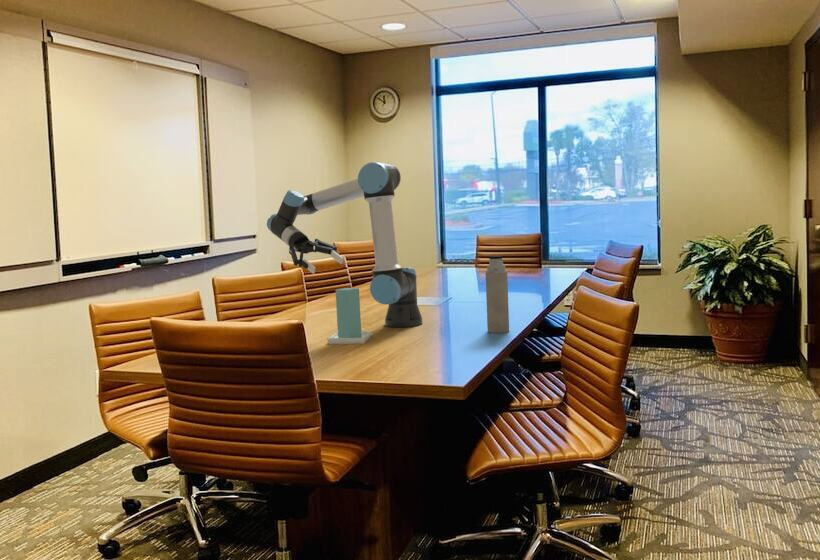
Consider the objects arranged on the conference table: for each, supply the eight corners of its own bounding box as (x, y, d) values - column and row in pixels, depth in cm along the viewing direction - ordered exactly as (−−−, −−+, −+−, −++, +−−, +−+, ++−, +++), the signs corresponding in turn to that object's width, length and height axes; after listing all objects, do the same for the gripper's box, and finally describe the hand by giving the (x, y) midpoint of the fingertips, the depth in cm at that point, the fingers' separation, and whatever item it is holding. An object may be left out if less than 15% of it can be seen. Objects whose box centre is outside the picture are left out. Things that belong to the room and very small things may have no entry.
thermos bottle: (491, 328, 281) (489, 255, 278) (512, 329, 277) (509, 254, 274) (484, 332, 274) (481, 256, 271) (505, 333, 270) (502, 256, 267)
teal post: (338, 338, 270) (335, 289, 269) (350, 336, 275) (347, 287, 273) (349, 340, 266) (346, 290, 265) (361, 337, 271) (358, 288, 269)
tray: (371, 336, 276) (371, 331, 276) (363, 343, 263) (363, 338, 263) (337, 337, 278) (337, 331, 278) (327, 344, 265) (327, 338, 265)
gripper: (319, 239, 305) (352, 265, 293) (268, 255, 289) (301, 283, 277) (321, 223, 300) (354, 249, 289) (269, 238, 284) (303, 266, 273)
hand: (328, 265), depth 283 cm, fingers open, 13 cm apart
